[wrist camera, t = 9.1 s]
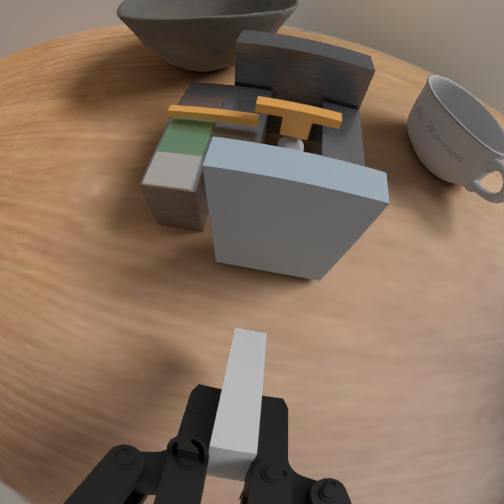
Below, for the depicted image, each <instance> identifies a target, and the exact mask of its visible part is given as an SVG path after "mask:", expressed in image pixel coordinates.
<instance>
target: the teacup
mask: <svg viewBox="0 0 504 504" xmlns="http://www.w3.org/2000/svg"><path fill="white" fill-rule="evenodd" d="M407 129H408V134H409V137H410V140H411V142H412V145H413V148H414V151H415V153H416V154H417V156H418V158H419V159H420V161H421V162H422V163H423V164H424V166H425V167H426V168H427V169H428V170H429V171H430V172H432V173H433V174H434V175H435V176H437V177H438V178H440V179H442V180H444V181H447V182H450V183H454V184H456V185H461V186H464V187H465V189H466V190H468V191H470V192H475V193H477V194H478V195H479V196H481V197H482V198H484V199H485V200H487V201H489V202H492V203H502V202H504V183H503V187H502V189H501V191H500V192H498V193H492V192H490V191H488V190H487V189H485V188H484V187H483V186H482V185H481V184H480V183H479V181H480V180H482V179H483V178H484V177H485V176H487V175H488V174H489V173H491V172H494V171H499V172H500V173H501V174H502V177H503V181H504V163H503V162H501V161H502V160H503V159H504V131H503V129H502V127H501V126H500V124H499V123H498V121H497V120H496V119H495V117H494V116H493V115H492V114H491V113H490V111H489V110H488V109H487V108H486V107H485V106H484V105H483V104H482V103H481V102H480V101H479V100H478V99H477V98H476V97H474V96H473V95H472V94H471V93H470V92H468V91H467V90H465V89H464V88H463V87H461V86H460V85H458V84H456V83H454V82H453V81H451V80H449V79H447V78H445V77H441V76H439V75H431V76H429V77H428V79H427V83H426V85H425V86H424V88H423V90H422V91H421V93H420V95H419V96H418V98H417V100H416V102H415V103H414V105H413V107H412V109H411V111H410V114H409V117H408V121H407Z"/></svg>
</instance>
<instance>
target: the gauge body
mask: <svg viewBox="0 0 504 504" xmlns="http://www.w3.org/2000/svg"><path fill="white" fill-rule="evenodd" d="M374 72H375V69H374V65H373V62H372V59H371V56H369V55H365V54H362V53H359V52H356V51H352V50H349V49H345V48H342V47H338V46H334V45H330V44H326V43H322V42H318V41H313V40H309V39H304V38H299V37H293V36H287V35H281V34H275V33H268V32H260V31H251V30H243V31H242V32H241V34H240V36H239V38H238V39H237V41H236V61H235V86H233V85H224V84H213V83H200V82H191V83H190V85H189V87H188V88H187V90H186V92H185V93H184V95H183V97H182V99H181V101H180V102H179V104H178V105H179V106H193V107H204V108H214V109H223V110H232V111H239V112H247V113H253V114H259V121H258V125H257V127H255V126H248V125H241V124H234V123H227V122H219V121H210V120H200V119H190V118H177V117H171V119H170V121H169V123H168V125H167V127H166V129H165V131H164V133H163V135H162V137H161V139H160V141H159V143H158V145H157V147H156V149H155V151H154V153H153V155H152V157H151V160H150V162H149V164H148V166H147V168H146V171H145V173H144V175H143V177H142V180H141V182H140V184H139V185H140V187H141V189H142V192H143V194H144V196H145V198H146V200H147V202H148V205H149V207H150V209H151V211H152V213H153V215H154V217H155V219H156V221H157V223H158V224H164V225H170V226H176V227H181V228H187V229H193V230H198V231H203V229H204V225H205V221H206V218H207V214H208V202H207V195H206V188H205V180H204V172H203V163H204V160H205V157H206V155H207V152H208V149H209V146H210V143H211V141H212V138H213V137H221V138H228V139H235V140H242V141H248V142H254V143H260V144H264V141H265V137H266V132H270V133H276V134H280V129H281V124H282V119H283V117H281V116H276V115H270V114H264V113H258V112H255V109H256V102H257V98H258V96H261V97H267V98H273V99H279V100H285V101H290V102H295V103H300V104H305V105H309V106H314V107H318V108H322V109H327V110H331V111H335V112H338V113H342V123H341V125H340V128H339V129H336V128H332V127H328V126H324V125H320V124H315V123H312V125H311V129H310V132H309V135H308V138H307V140H311V141H310V151H309V153H312V154H316V155H321V156H325V157H329V158H333V159H338V160H342V161H346V162H349V163H353V164H357V165H361V166H364V167H365V159H364V148H363V137H362V128H361V120H360V112H359V111H358V110H359V108H360V105H361V103H362V101H363V98H364V96H365V94H366V91H367V89H368V87H369V84H370V82H371V80H372V77H373V75H374Z"/></svg>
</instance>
